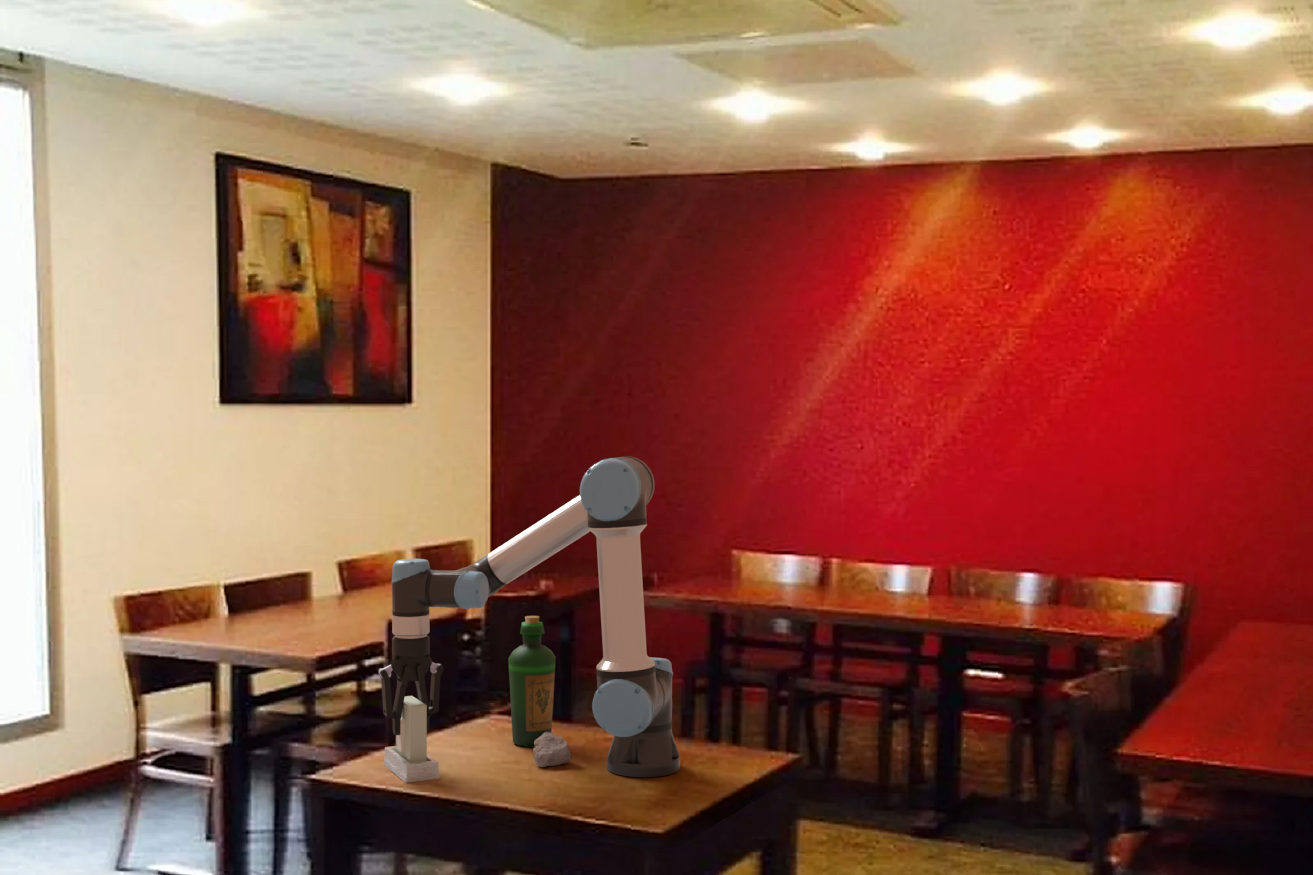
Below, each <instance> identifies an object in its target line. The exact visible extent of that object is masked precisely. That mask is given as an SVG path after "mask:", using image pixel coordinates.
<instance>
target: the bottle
mask: <svg viewBox="0 0 1313 875" xmlns="http://www.w3.org/2000/svg"><path fill="white" fill-rule="evenodd" d="M524 619H525V621H522V622H521V626H520V631H519V634H520V635H522V643H523V644H521V645H519V646H518V647H516V648H515V649H514V650H513V651H512V652H511V653H510V655H509V656H508V660H507V661H508V673H509V674H508V676H509V679H508V680H509V694H510V697H509V698H510V699H509V700H510V711H511V712H510V713H511V714H510V715H511V733H512V734H511V735H512V743H513V744H515V745H517V746H520V747H523V746H524V747H525V748H535V745H534V741H535V740H536V739H538V737H540V736H542V734H544V733H545V732H549V733H550V732H553V731H552V729H553V728H552V727H553V710H554V692H555V676H556V674H555V673H556V658H557V657H556V656H555V654H554V652H553V650H552V649H550V648H549V647H547V646H546V645H543V644H542V636H543V634H545V629H544V624H543V621H539V620H540V616H539V615H526V616H524Z"/></svg>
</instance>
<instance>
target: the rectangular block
mask: <svg viewBox="0 0 1313 875" xmlns="http://www.w3.org/2000/svg"><path fill="white" fill-rule="evenodd" d="M401 718H403V719H404V720H405V752H400V751H399V750H398V749H397V735H395V746H396V752H397V753H398V754H399V755H400V756H402V757H403V758H404V759H405V760H407V761H408V762H409V763H418V762H427V754H428V753H427V748H428V745H427V744H428V742H427V738H428V736H427V733H428V732H427V705H426V704H424V703H422V702H421V701H419V699H418V698H416V697H414V696H413V695H407V696H406V695H405V697H404V703H403V709H402V715H401Z"/></svg>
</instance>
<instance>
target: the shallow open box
mask: <svg viewBox="0 0 1313 875" xmlns="http://www.w3.org/2000/svg"><path fill="white" fill-rule="evenodd" d="M383 765H384V766H385V767H386V768H387V769H389V770H390V771H391V772H392V773H393V774H395V776H397V777H398V778H399V779H400V780H401V781H403V782H404V783H405V784H407V783H414V782H415V783H417V782H424V781H432V780H440V773H439V761H438V760H437V759H436V758H434V757H433V756H432V755H430V754H429V753H427V762H418V763H409V762H408V761H407V760H405V759H404V758H403V757H402V756H400V755H399V754H398V753H397V752H396V745H395V746H394V745H393V746H385V747H384V759H383Z"/></svg>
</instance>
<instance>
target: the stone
mask: <svg viewBox="0 0 1313 875" xmlns="http://www.w3.org/2000/svg"><path fill="white" fill-rule="evenodd" d="M534 745H535V747H533V749H532V750H533V759H534V761H535V764H536V765H537V766H538V767H540V768H544V767H554V766H559V765H562V764H563V765H564V764H566V763H568V762H570V761H571V760H572V756H571V752H570V751H571V750H570V748H569V744H568V742H567V741H565V740H564V737H563V736H557V735H556V734H555V733H554V732H553V731H551V732H550V733H549V732H545V733H544V734H542V736H540V737H538V739H536V740H535V741H534Z"/></svg>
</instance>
